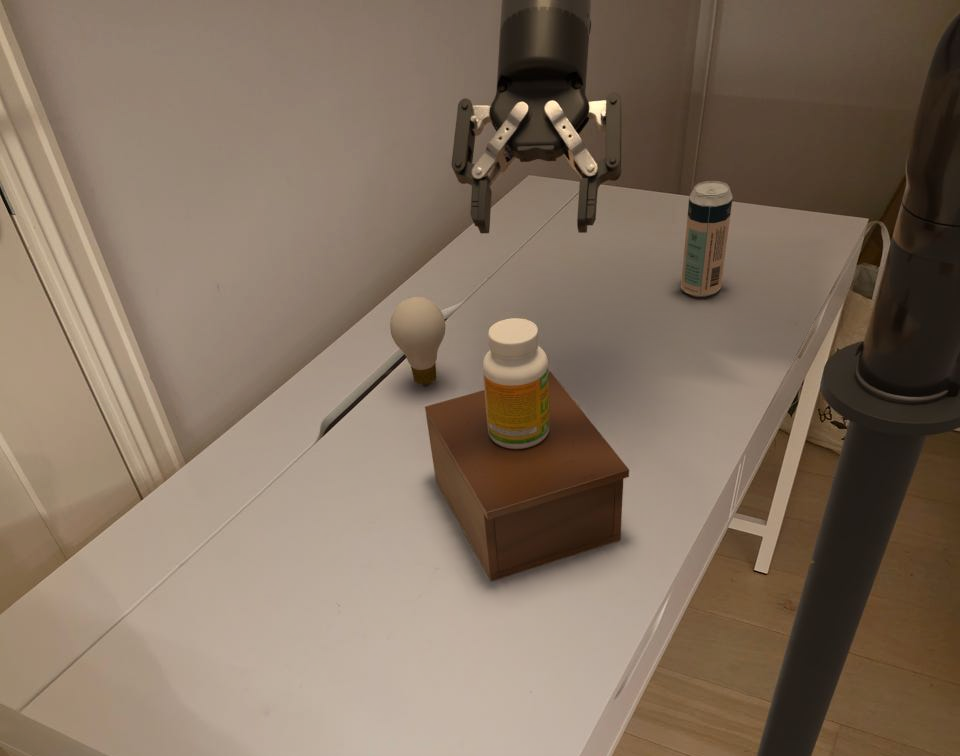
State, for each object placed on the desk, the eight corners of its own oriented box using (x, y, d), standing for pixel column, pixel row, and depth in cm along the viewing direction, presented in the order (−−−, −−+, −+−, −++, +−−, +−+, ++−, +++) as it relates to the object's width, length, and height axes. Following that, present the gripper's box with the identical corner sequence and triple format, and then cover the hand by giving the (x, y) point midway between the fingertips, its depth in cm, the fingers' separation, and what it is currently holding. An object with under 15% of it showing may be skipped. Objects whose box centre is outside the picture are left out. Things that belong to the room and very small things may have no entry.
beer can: (721, 281, 109) (734, 179, 100) (719, 300, 106) (732, 197, 97) (682, 279, 110) (691, 179, 101) (678, 298, 107) (688, 196, 98)
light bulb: (404, 370, 101) (391, 287, 94) (455, 369, 100) (445, 285, 93) (396, 399, 97) (381, 315, 90) (448, 399, 96) (438, 313, 89)
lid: (629, 477, 73) (629, 469, 72) (487, 520, 71) (487, 512, 70) (550, 378, 83) (550, 371, 83) (425, 413, 81) (424, 406, 81)
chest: (620, 540, 79) (624, 471, 73) (490, 581, 77) (483, 513, 71) (552, 446, 89) (550, 379, 83) (435, 480, 87) (425, 414, 81)
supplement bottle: (553, 447, 75) (551, 344, 68) (490, 454, 75) (481, 351, 68) (545, 411, 79) (543, 309, 71) (486, 417, 79) (477, 316, 71)
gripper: (452, 7, 71) (441, 213, 72) (629, -3, 69) (614, 210, 70) (470, 62, 79) (459, 247, 80) (630, 54, 76) (617, 246, 77)
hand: (532, 229), depth 75 cm, fingers open, 8 cm apart
